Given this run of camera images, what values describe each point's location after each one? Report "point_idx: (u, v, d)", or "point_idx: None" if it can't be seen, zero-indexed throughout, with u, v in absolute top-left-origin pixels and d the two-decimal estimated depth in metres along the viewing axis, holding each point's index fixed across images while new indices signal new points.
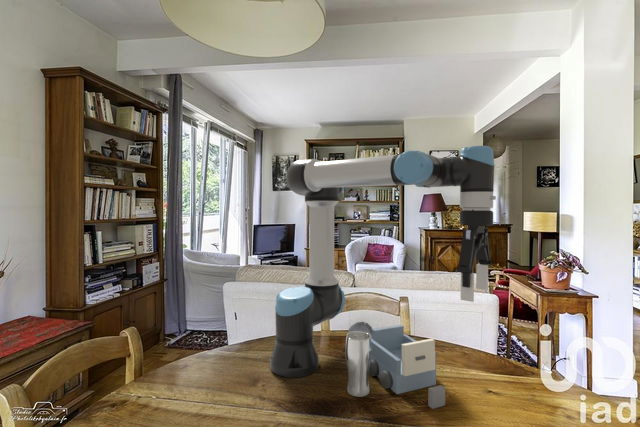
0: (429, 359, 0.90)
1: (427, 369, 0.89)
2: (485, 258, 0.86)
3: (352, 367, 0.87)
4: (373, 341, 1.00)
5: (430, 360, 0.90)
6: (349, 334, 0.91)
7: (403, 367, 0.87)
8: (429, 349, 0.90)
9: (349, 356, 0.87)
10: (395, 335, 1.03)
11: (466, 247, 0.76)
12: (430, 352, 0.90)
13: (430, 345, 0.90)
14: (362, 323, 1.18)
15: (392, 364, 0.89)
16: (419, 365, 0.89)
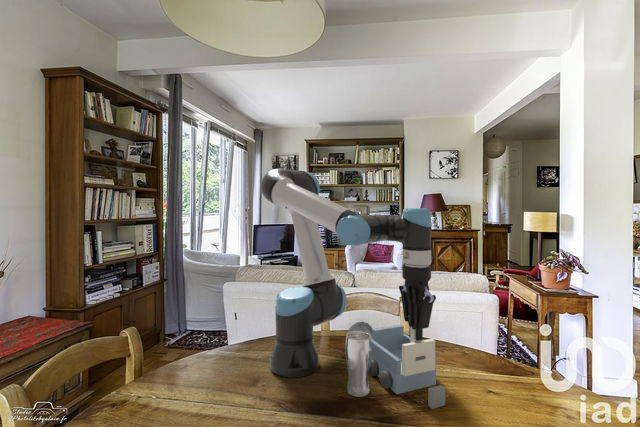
0: (429, 359, 0.90)
1: (427, 369, 0.89)
2: None
3: (352, 367, 0.87)
4: (373, 341, 1.00)
5: (430, 360, 0.90)
6: (349, 334, 0.91)
7: (403, 367, 0.87)
8: (429, 349, 0.90)
9: (349, 356, 0.87)
10: (395, 335, 1.03)
11: None
12: (430, 352, 0.90)
13: (430, 345, 0.90)
14: (362, 323, 1.18)
15: (392, 364, 0.89)
16: (419, 365, 0.88)
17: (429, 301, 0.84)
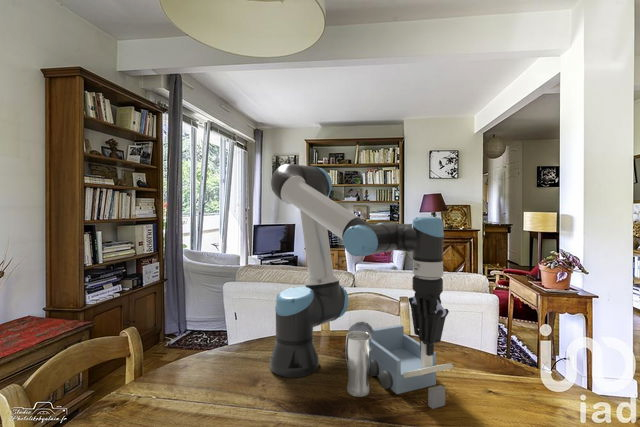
0: None
1: None
2: None
3: (352, 367, 0.87)
4: (373, 341, 1.00)
5: None
6: (349, 334, 0.91)
7: (407, 375, 0.86)
8: None
9: (349, 356, 0.87)
10: (395, 335, 1.03)
11: None
12: None
13: None
14: (362, 323, 1.18)
15: (392, 364, 0.89)
16: None
17: (441, 315, 0.80)
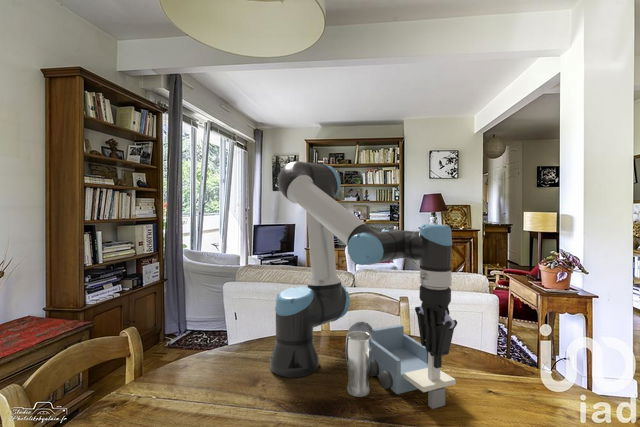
0: None
1: None
2: None
3: (353, 367, 0.87)
4: (373, 341, 1.00)
5: None
6: (349, 334, 0.91)
7: (408, 379, 0.85)
8: None
9: (349, 356, 0.87)
10: (395, 335, 1.03)
11: None
12: None
13: None
14: (362, 323, 1.18)
15: (392, 364, 0.89)
16: None
17: (450, 327, 0.78)
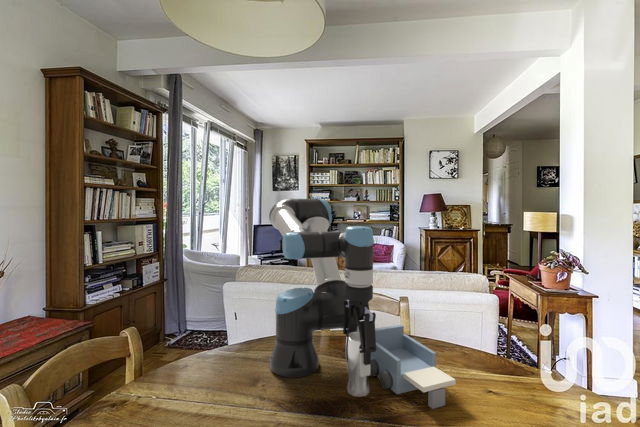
0: None
1: None
2: None
3: (353, 367, 0.87)
4: None
5: None
6: (349, 334, 0.91)
7: (408, 379, 0.85)
8: None
9: (349, 356, 0.87)
10: (395, 335, 1.03)
11: None
12: None
13: None
14: None
15: (392, 364, 0.89)
16: None
17: (369, 319, 0.83)
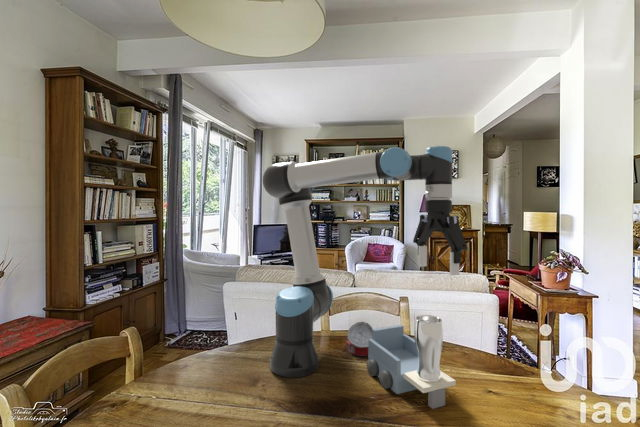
0: None
1: None
2: None
3: (425, 351, 0.83)
4: (373, 341, 1.00)
5: None
6: (417, 318, 0.87)
7: (408, 379, 0.85)
8: None
9: (421, 340, 0.83)
10: (395, 335, 1.03)
11: None
12: None
13: None
14: (362, 323, 1.18)
15: (392, 364, 0.89)
16: None
17: (454, 220, 0.92)
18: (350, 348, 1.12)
